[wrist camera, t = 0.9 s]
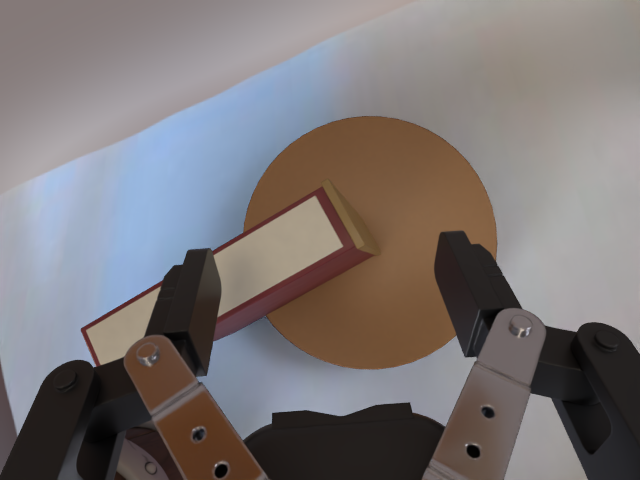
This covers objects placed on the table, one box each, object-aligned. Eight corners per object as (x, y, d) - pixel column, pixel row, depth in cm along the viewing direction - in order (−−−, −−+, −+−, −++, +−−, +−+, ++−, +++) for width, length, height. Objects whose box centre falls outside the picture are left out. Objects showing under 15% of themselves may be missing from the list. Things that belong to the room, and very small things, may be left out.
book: (411, 74, 33) (420, -101, 17) (546, 292, 30) (708, 324, 14) (179, 216, 37) (8, 179, 21) (282, 424, 34) (174, 571, 18)
